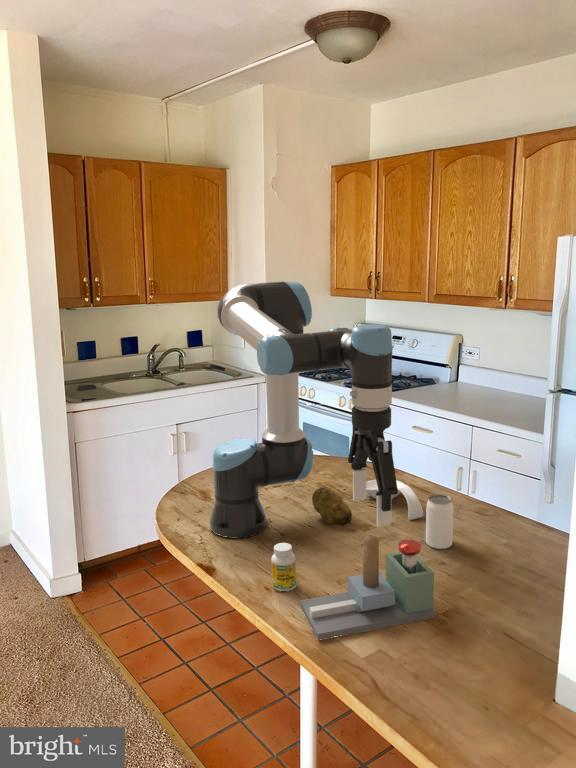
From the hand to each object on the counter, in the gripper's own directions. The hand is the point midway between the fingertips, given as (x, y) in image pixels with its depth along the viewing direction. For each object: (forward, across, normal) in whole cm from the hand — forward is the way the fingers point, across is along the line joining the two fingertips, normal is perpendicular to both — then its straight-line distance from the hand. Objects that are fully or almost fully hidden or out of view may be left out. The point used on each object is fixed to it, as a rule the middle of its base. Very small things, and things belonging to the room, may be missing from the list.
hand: (371, 511), depth 126 cm
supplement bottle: (+22, -15, -14) cm, 31 cm away
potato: (+22, -44, +7) cm, 50 cm away
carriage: (+20, 0, 0) cm, 20 cm away
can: (+22, -22, +28) cm, 42 cm away
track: (+22, 0, -1) cm, 22 cm away
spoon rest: (+23, -48, +27) cm, 60 cm away
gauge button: (+18, 0, +8) cm, 20 cm away
